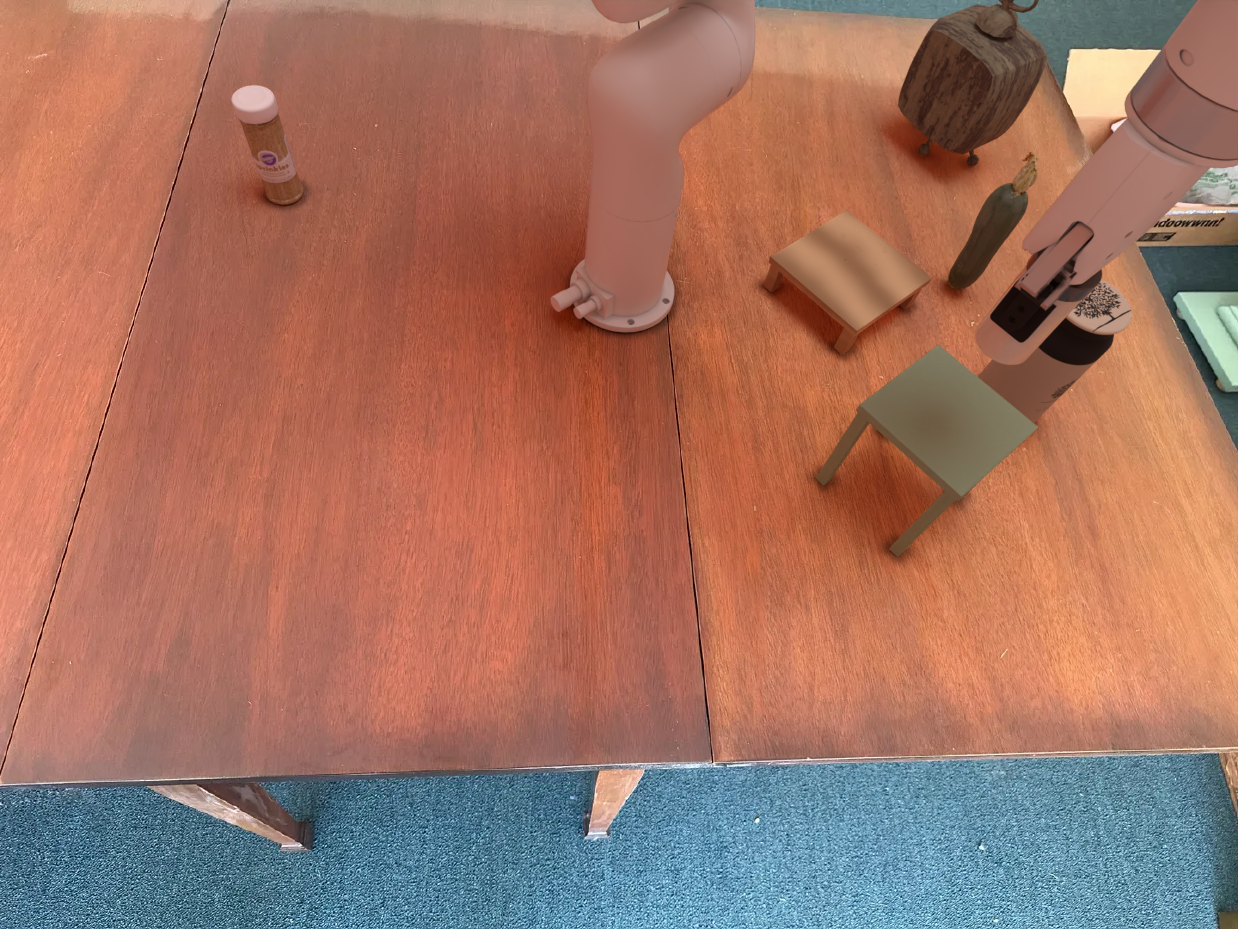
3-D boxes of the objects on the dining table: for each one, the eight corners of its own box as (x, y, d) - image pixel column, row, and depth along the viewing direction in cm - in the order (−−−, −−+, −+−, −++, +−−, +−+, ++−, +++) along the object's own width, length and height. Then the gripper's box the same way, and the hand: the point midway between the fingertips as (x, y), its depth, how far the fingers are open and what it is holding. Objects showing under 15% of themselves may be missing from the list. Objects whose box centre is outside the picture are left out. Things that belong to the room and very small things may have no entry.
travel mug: (952, 389, 91) (1037, 282, 76) (1004, 371, 93) (1098, 263, 78) (992, 444, 88) (1090, 343, 72) (1046, 424, 90) (1152, 322, 75)
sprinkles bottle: (270, 209, 96) (233, 112, 84) (263, 184, 98) (226, 86, 86) (308, 201, 97) (277, 105, 85) (300, 177, 99) (269, 80, 87)
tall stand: (897, 560, 80) (961, 496, 67) (812, 478, 83) (859, 404, 71) (966, 497, 84) (1038, 427, 72) (883, 422, 88) (938, 344, 76)
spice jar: (1009, 376, 61) (1079, 299, 54) (961, 336, 63) (1023, 256, 55) (1042, 348, 63) (1115, 270, 55) (996, 310, 65) (1060, 229, 57)
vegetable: (967, 306, 98) (1058, 177, 81) (933, 299, 98) (1017, 168, 81) (966, 281, 101) (1055, 150, 83) (933, 273, 101) (1015, 141, 83)
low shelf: (842, 358, 92) (857, 330, 88) (759, 285, 97) (770, 256, 93) (915, 305, 98) (932, 277, 93) (833, 239, 102) (846, 209, 98)
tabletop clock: (987, 169, 112) (1094, -7, 91) (945, 190, 109) (1045, 12, 88) (917, 112, 118) (1002, -68, 96) (874, 130, 115) (953, -52, 93)
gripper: (1217, 23, 49) (1048, 238, 64) (1071, 117, 42) (922, 331, 58) (1329, 88, 46) (1124, 296, 62) (1191, 199, 40) (1002, 399, 56)
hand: (1028, 311), depth 60 cm, fingers closed on spice jar, 4 cm apart
